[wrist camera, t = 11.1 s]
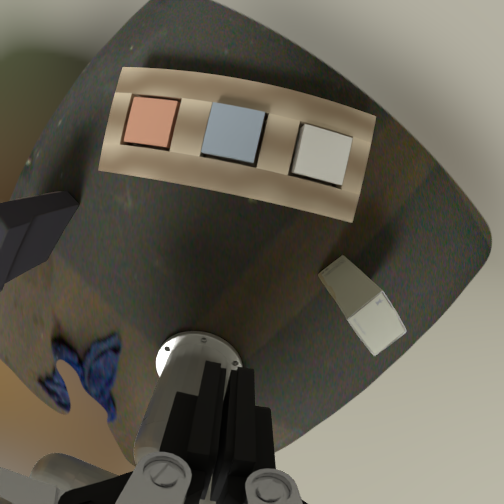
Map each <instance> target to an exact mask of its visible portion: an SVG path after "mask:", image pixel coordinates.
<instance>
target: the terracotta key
mask: <svg viewBox="0 0 504 504" xmlns="http://www.w3.org/2000/svg"><path fill="white" fill-rule="evenodd" d="M179 108H180V103H179V102H178V101H173V100H164V99H154V98H143V97H134V99H133V103H132V107H131V111H130V115H129V119H128V124H127V128H126V132H125V137H124V141H125V142H129V143H134V144H142V145H149V146H156V147H163V148H169V149H170V147H171V142H172V138H173V133H174V129H175V125H176V120H177V116H178V112H179Z"/></svg>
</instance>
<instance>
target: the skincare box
mask: <svg viewBox="0 0 504 504" xmlns="http://www.w3.org/2000/svg"><path fill="white" fill-rule="evenodd" d="M318 277H319V279H320V280H321V282H322V283H323V284H324V286H325V287H326V289H327V290H328V291H329V293H330V294H331V296H332V297H333V299H334V300H335V302H336V303H337V305H338V306H339V308H340V309H341V311H342V312H343V314H344V315H345V317H346V319H347V320H348V322H349V323H350V325H351V326H352V328H353V329H354V331H355V332H356V334H357V335H358V336H359V338H360V339H361V340H362V342H363V343H364V344H365V346H366V347H367V348H368V349H369V351H370V352H371V353H372V354H373V356H376V355H377V354H379V353H380V352H381V351H383V350H384V349H385V348H387V347H388V346H389V345H391V344H392V343H393V342H395V341H396V340H397V339H398V338H400V337H401V336H402V335H403V334H405V333H406V328H405V326H404V324H403V323H402V321H401V319H400V317H399V315H398V314H397V312H396V310H395V309H394V307H393V305H392V304H391V302H390V301H389V299H388V298H387V296H386V295H385V293H384V291H383V290H382V289H381V288H380V287H378V286H377V285H376V284H375V283H374V282H373V281H372V280H371V279H370V278H369V277H367V276H366V275H365V274H364V273H363V272H362V271H361V270H360V269H358V268H357V267H356V266H355V265H354V264H353V263H352V262H351V261H350V260H348V259H347V258H346V257H345V256H344V255H342V256H341V257H339V258H338V259H337V260H335V261H334V262H333V263H331V264H330V265H329V266H327V267H326V268H325V269H324V270H322V271H321V272H320V273H319V274H318Z"/></svg>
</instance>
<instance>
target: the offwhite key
mask: <svg viewBox="0 0 504 504" xmlns="http://www.w3.org/2000/svg"><path fill="white" fill-rule="evenodd" d="M352 139H353V138H351V137H348V136H345V135H341V134H338V133H335V132H332V131H328V130H325V129H322V128H318V127H315V126H311V125H307V124H304V125H303V126H302V127H301V128H300V131H299V135H298V140H297V144H296V148H295V153H294V157H293V161H292V166H291V170H290V173H294V174H298V175H302V176H306V177H310V178H314V179H317V180H321V181H325V182H328V183H332V184H337V185H342V183H343V179H344V175H345V170H346V166H347V162H348V157H349V153H350V148H351V143H352Z"/></svg>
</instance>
